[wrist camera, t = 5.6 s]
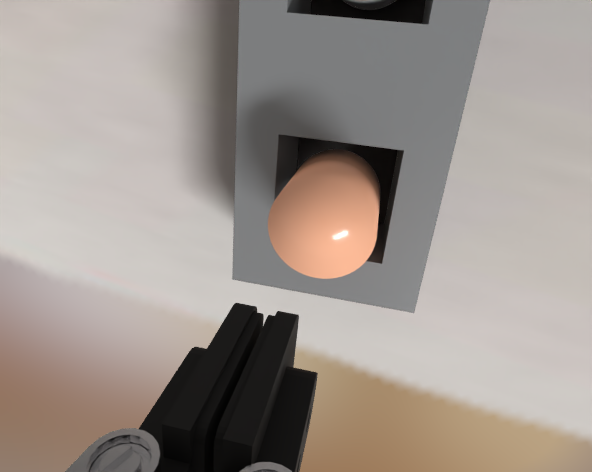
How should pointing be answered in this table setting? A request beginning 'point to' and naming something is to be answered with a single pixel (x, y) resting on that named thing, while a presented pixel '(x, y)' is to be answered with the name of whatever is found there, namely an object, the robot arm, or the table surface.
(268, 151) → the plunger housing
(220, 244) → the table surface
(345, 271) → the peach rounded cylinder
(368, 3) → the metal plunger
